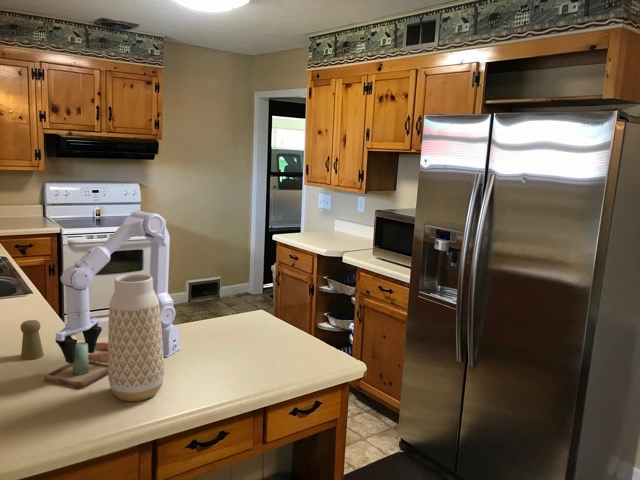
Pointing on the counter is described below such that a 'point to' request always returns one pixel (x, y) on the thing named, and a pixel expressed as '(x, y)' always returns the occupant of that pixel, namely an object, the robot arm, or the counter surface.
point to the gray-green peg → (81, 359)
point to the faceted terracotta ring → (99, 356)
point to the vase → (135, 339)
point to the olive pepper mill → (31, 340)
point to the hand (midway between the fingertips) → (80, 357)
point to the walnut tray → (81, 381)
